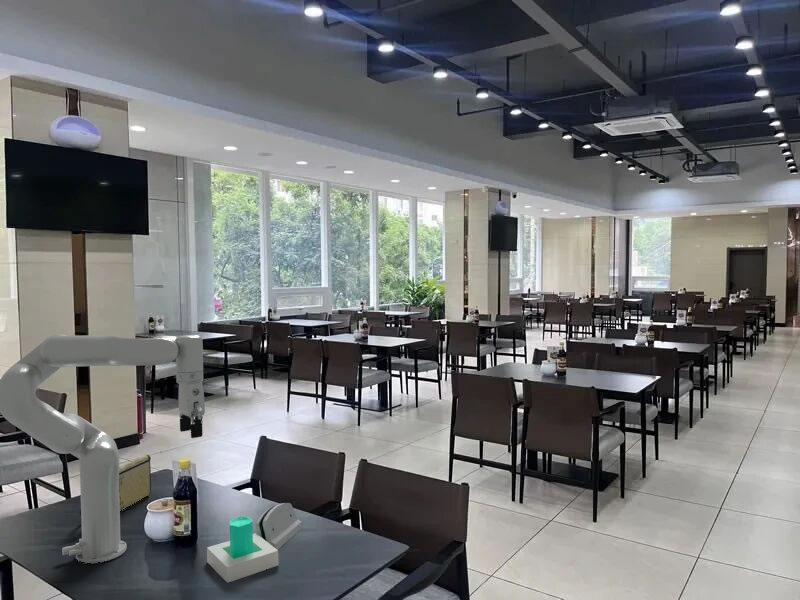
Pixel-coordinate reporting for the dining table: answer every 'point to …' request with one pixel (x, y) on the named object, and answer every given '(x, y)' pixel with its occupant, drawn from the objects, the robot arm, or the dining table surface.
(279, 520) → the hinge
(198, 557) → the dining table surface
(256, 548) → the candle holder
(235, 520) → the candle
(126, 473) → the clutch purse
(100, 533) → the robot arm
